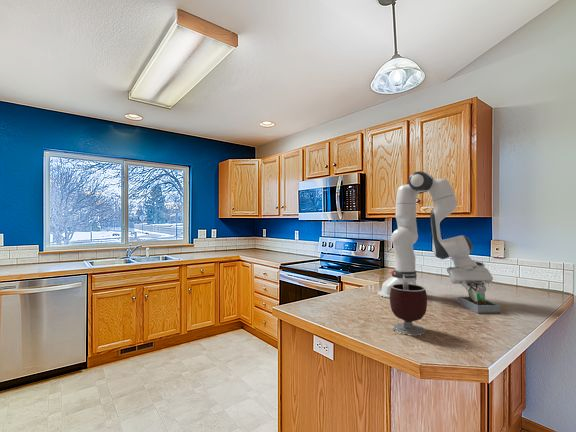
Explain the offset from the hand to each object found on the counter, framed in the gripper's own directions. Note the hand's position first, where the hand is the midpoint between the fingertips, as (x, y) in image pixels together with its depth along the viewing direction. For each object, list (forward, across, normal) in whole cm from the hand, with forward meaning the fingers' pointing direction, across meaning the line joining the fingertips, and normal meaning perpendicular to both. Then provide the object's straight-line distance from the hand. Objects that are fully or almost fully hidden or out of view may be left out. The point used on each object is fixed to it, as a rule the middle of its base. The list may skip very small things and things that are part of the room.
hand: (476, 289), depth 153 cm
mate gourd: (+27, -46, -14) cm, 55 cm away
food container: (+6, +1, +5) cm, 8 cm away
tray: (+7, 0, +6) cm, 9 cm away
